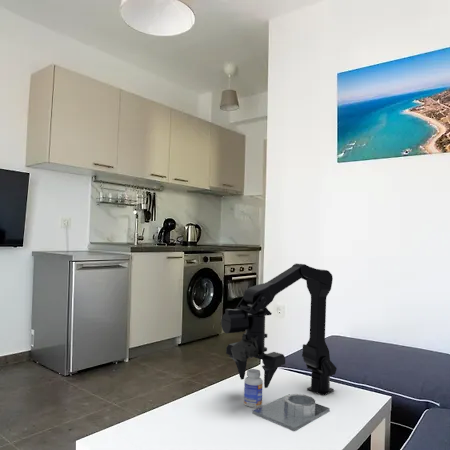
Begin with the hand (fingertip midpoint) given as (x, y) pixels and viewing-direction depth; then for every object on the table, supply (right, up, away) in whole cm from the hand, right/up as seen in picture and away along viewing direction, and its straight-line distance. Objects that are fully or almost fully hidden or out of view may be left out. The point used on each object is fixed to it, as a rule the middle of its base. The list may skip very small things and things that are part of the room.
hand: (253, 383), depth 117 cm
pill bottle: (0, -6, 0) cm, 6 cm away
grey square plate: (+10, -6, -5) cm, 13 cm away
